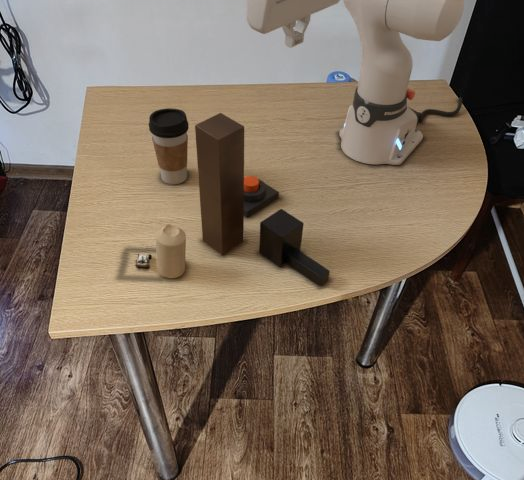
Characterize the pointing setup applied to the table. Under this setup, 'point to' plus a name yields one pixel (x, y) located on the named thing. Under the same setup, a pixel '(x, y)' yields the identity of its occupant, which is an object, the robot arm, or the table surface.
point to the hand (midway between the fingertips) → (294, 44)
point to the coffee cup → (170, 143)
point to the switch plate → (259, 198)
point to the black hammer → (288, 246)
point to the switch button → (251, 184)
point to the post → (221, 181)
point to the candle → (171, 251)
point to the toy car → (143, 260)
